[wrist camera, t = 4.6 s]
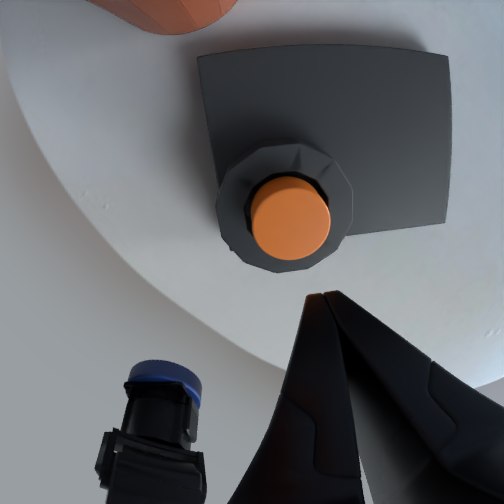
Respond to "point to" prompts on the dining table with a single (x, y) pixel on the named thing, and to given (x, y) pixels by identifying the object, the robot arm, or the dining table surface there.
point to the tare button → (289, 218)
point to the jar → (167, 13)
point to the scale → (329, 137)
